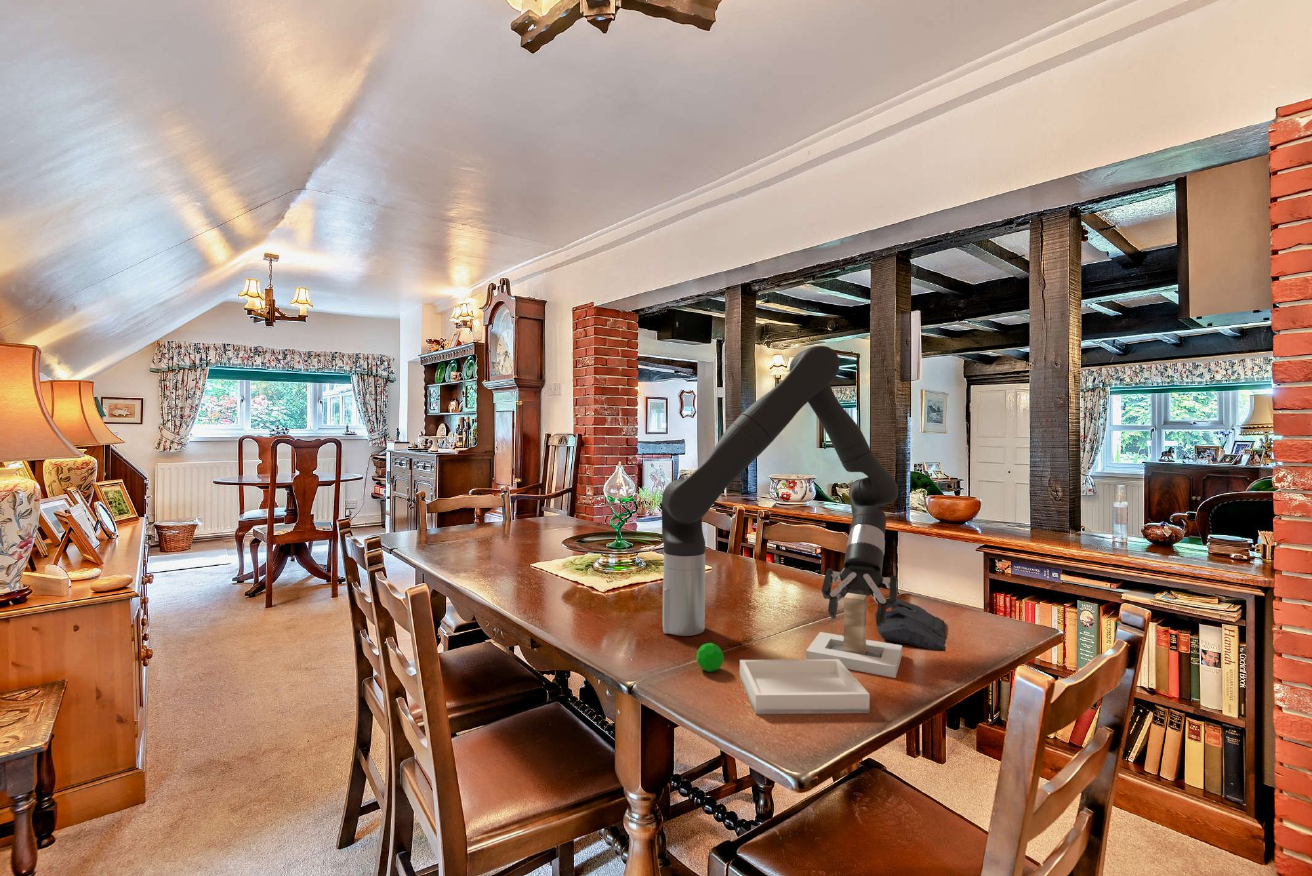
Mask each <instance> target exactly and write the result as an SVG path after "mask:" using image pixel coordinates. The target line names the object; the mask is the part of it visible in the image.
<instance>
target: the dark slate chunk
mask: <svg viewBox="0 0 1312 876" xmlns="http://www.w3.org/2000/svg"><path fill="white" fill-rule="evenodd" d="M874 617H875V618H876V617H877V610H876V611H875V613H874ZM875 623H876V622H875ZM876 627H877V629H878V631H877V632H878V634H879V636H880V637H881V638H882V639H884V640H886V641H889V642H890V641H891V642H896V643H901V644H906V645H910V646H912V647H913V646H914V647H917V648H922V649H927V650H930V651H932V650H933V651H945V650H946V648H947V647H946V640H947V636H946V635H947V632H946V623H945V621H944V620H943V619H941V618H940V617H938V616H935V615H933V614H931V613H929V612H928V611H927V610H926V609H924V608H922V607H921V606H919V605H917V604H913V603H911V602H907V601H906V600H904V599H900V598H897V607H896V608H892V607H891V610H886V617H885V622H884V624H882V623H881V626H877V623H876Z"/></svg>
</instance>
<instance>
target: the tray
mask: <svg viewBox="0 0 1312 876" xmlns="http://www.w3.org/2000/svg"><path fill="white" fill-rule="evenodd" d="M739 678H740V681H741V683H742V685H743V688H744V691H745V693H746V695H747V697H748V700H749V703H750V704H751V707H752V710H753V711H754V714H755V715H804V714H805V715H806V714H807V715H816V714H817V715H818V714H823V715H824V714H829V715H831V714H870V700H871V699H870V698H871V697H870V696H871V695H870V693H869V692H868V690H866V688H865V687H864V686H863V685H862V684H861V683H860V682H859V681H858V680H857V678H856V677H855V676H854V675H853V674H852V673H851V672H850V669H847V668H846V667H845V666H844V665H843V664H842V662H841V661H840V660H839V659H806V658H805V659H739Z"/></svg>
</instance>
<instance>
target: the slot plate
mask: <svg viewBox="0 0 1312 876" xmlns="http://www.w3.org/2000/svg"><path fill="white" fill-rule="evenodd" d="M833 645H838V646H844V635H841V634H835V633H829V632H823V631H820V632H819V633H818V634H817V635H816V637H815V638H814V640H812V642H811V643H810V644H809V646H808V647H807V648H806V650H805V659H839V660H840V661H841V662H842V664H843V665H844V666H845V667H846V668H847V669H848V670H849V671H850V670H852V671H856V672H863V673H867V674H871V675H878V676H883V677H888V678H893V679H896V678H897V675H898V671H899V667H900V664H901V660H902V657H903V645H901V644H897V643H896V644H894V643H890V642H884V641H877V640H873V639H872V640H870V639H866V650H867V651H872V652H878V653H881V658H878V657H872V656H866V655H861V654H855V653H849V652H844V651H838V650H833V649H831V648H832V646H833Z"/></svg>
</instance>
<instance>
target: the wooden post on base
mask: <svg viewBox="0 0 1312 876" xmlns="http://www.w3.org/2000/svg"><path fill="white" fill-rule="evenodd" d="M843 598H844V599H843V603H844V604H843V636H844V646H838V645H833V646H832V648H831V649H833V650H838V651H844V652H849V653H855V654H861V655H866V656H872V657H878V658H881V653H878V652H872V651H867V650H866V640H867V601H868V600H867V595H861V594H853V593H847V594H846V596H845V597H843Z"/></svg>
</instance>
